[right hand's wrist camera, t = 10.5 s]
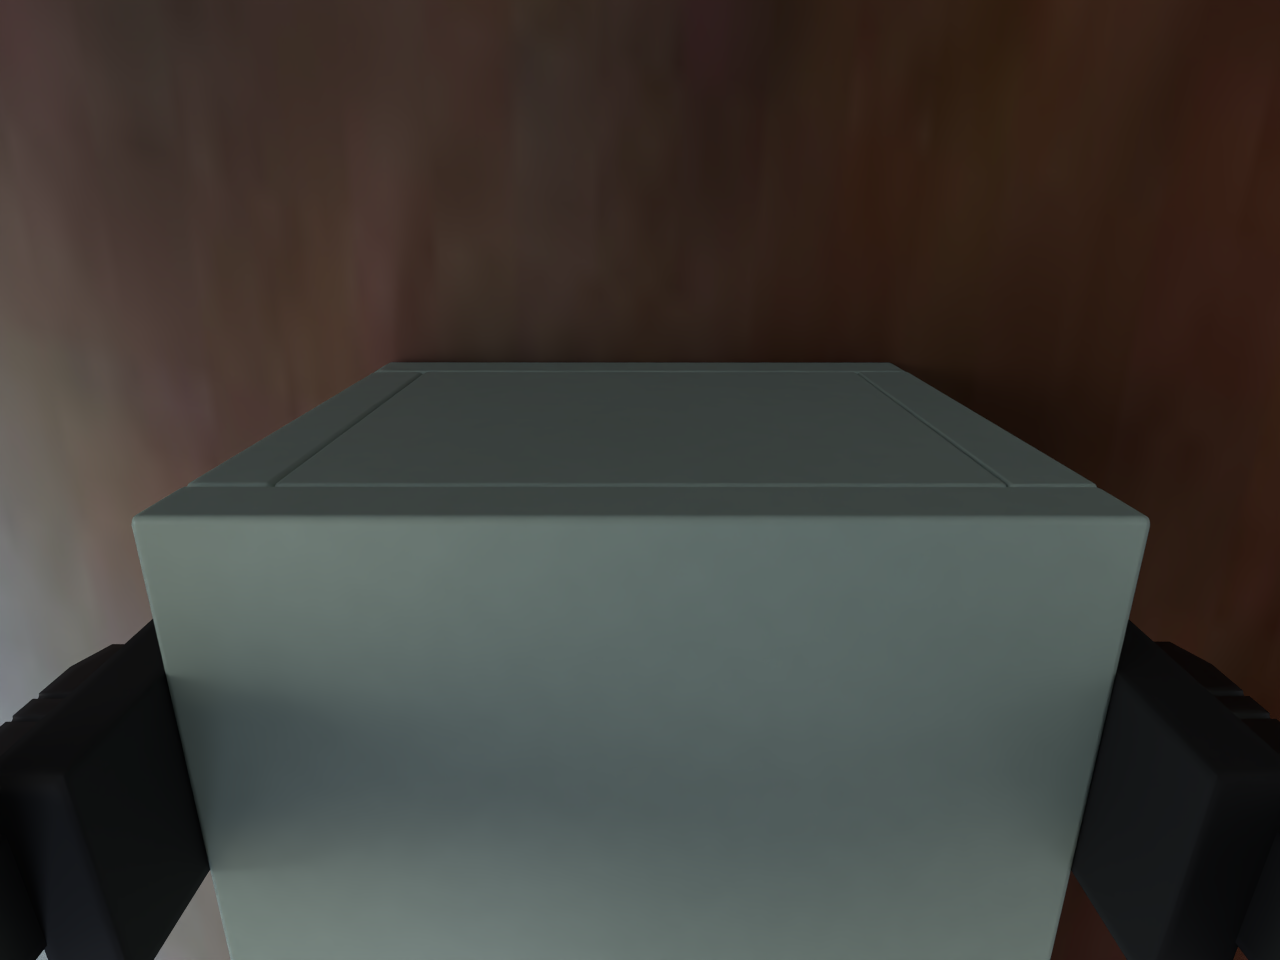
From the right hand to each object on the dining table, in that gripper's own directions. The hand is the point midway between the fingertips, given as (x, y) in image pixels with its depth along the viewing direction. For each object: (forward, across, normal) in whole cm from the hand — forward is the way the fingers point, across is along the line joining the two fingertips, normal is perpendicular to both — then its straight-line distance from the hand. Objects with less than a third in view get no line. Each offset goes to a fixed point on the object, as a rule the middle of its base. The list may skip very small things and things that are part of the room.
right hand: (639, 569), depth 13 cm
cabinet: (+3, 0, -8) cm, 8 cm away
